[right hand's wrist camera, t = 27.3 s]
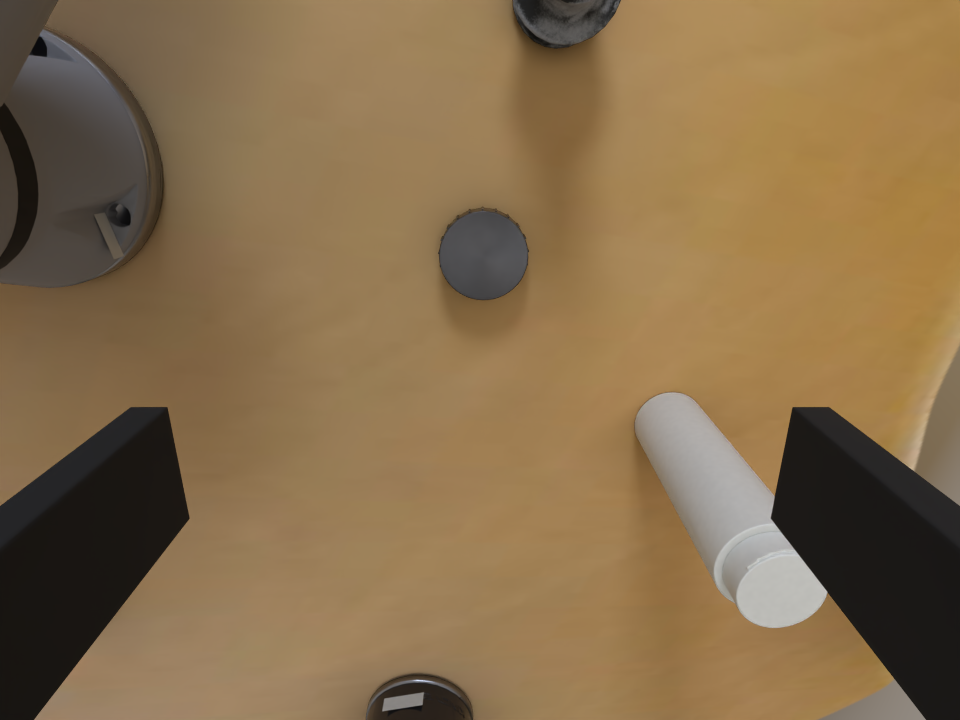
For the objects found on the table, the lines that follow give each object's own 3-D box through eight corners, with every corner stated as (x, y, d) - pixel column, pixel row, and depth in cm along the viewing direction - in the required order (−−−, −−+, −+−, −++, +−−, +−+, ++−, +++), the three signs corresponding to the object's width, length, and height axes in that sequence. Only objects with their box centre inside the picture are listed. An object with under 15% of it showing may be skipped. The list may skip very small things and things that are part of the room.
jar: (716, 422, 43) (859, 591, 27) (664, 465, 44) (771, 651, 28) (672, 378, 42) (794, 528, 26) (620, 424, 43) (705, 594, 27)
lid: (452, 195, 38) (451, 198, 36) (538, 220, 38) (541, 224, 36) (430, 280, 39) (428, 287, 38) (512, 303, 40) (514, 311, 38)
